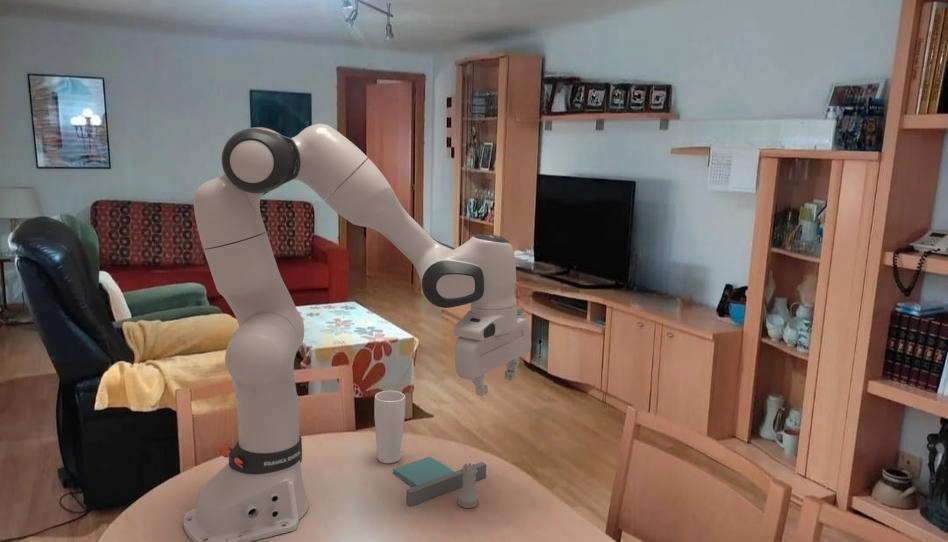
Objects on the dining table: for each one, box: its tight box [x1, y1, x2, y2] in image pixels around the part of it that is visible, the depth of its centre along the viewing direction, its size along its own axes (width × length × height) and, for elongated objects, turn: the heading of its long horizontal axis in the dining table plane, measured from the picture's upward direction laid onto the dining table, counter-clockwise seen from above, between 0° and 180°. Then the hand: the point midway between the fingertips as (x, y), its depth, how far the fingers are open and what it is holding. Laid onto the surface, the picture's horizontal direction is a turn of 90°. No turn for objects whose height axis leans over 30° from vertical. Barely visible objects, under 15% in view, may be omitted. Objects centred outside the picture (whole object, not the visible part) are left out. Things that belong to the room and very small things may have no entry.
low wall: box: [405, 461, 488, 507], centre depth 143 cm, size 20×2×3 cm, turn 131°
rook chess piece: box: [456, 462, 480, 509], centre depth 138 cm, size 4×4×8 cm
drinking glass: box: [373, 390, 406, 464], centre depth 154 cm, size 7×7×15 cm
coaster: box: [392, 456, 456, 488], centre depth 149 cm, size 10×10×1 cm
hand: (496, 386), depth 135 cm, fingers open, 8 cm apart
